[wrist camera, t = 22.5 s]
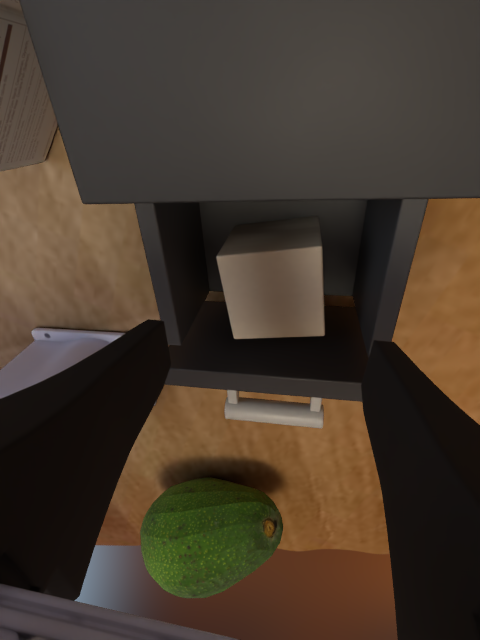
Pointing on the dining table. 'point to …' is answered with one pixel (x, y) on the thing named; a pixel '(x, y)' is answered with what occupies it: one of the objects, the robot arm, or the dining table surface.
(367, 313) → the drawer
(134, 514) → the dining table surface
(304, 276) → the block
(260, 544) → the fruit
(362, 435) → the dining table surface
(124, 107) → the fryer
